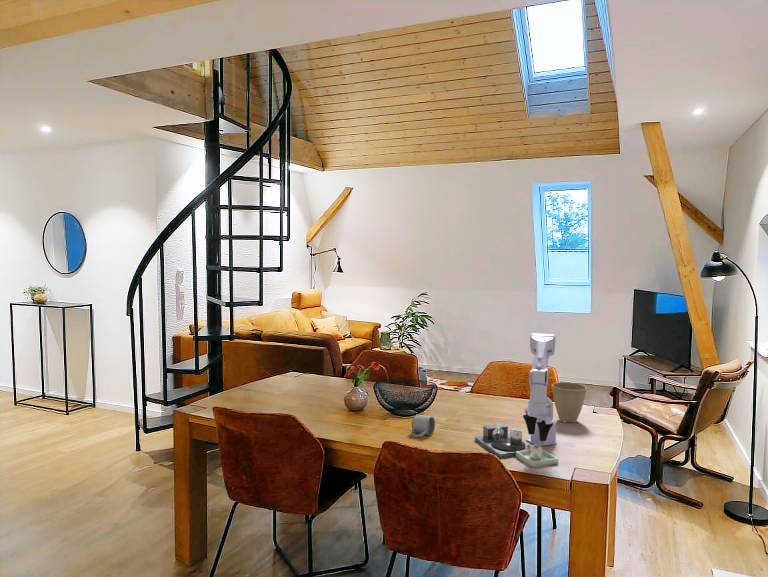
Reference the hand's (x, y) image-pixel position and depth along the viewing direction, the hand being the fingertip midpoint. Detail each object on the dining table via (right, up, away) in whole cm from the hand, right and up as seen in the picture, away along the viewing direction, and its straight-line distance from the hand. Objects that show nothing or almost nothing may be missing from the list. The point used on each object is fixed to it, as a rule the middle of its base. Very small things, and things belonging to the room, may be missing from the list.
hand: (537, 437), depth 211 cm
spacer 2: (0, -8, 0) cm, 8 cm away
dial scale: (-9, -8, +14) cm, 19 cm away
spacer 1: (-5, -5, +13) cm, 15 cm away
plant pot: (+27, -5, +49) cm, 56 cm away
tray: (0, -9, +1) cm, 9 cm away
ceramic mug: (-41, -7, +29) cm, 50 cm away
